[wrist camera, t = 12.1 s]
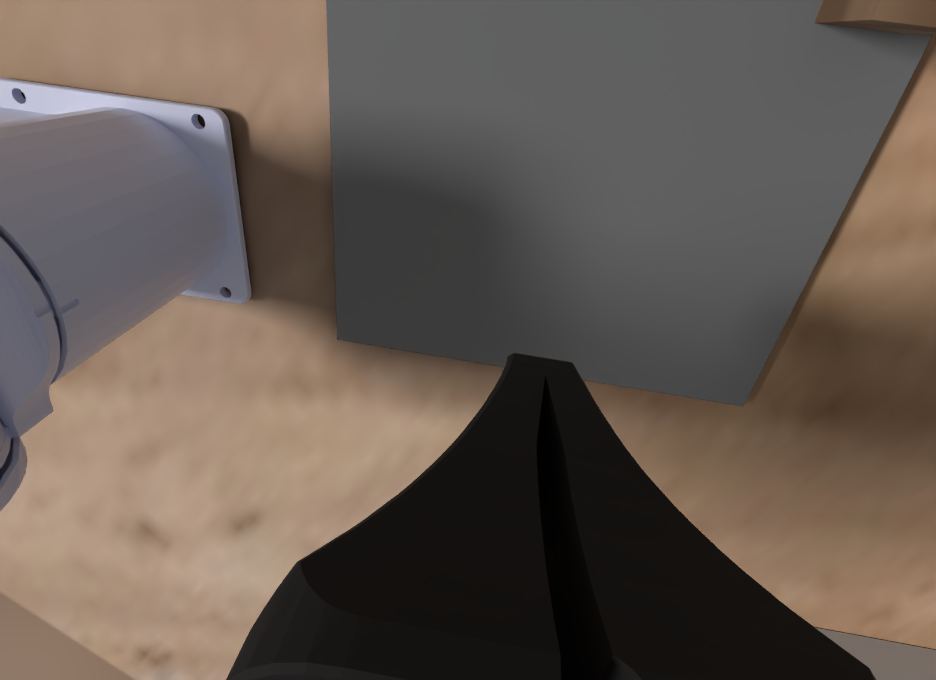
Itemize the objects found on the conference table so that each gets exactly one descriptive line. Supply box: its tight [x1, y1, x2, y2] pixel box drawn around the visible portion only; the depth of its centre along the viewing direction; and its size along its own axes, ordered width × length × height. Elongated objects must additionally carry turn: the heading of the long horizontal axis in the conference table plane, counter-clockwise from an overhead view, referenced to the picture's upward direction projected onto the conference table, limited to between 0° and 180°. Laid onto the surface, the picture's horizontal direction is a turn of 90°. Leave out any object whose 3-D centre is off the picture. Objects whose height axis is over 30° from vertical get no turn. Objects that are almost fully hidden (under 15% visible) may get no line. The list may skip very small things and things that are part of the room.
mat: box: [326, 0, 933, 406], centre depth 16 cm, size 18×24×1 cm
